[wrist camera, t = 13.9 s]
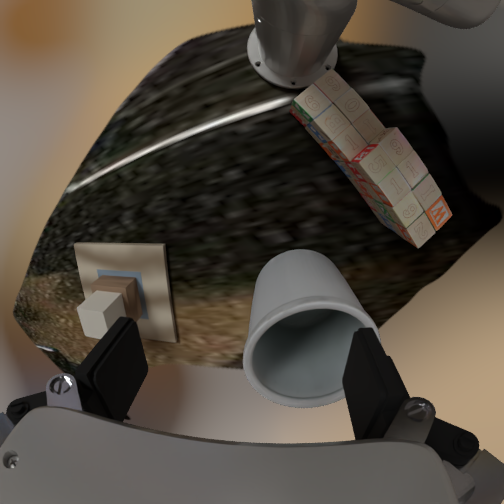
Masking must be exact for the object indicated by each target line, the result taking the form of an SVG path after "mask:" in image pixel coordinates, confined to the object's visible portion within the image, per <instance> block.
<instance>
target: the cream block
mask: <svg viewBox="0 0 504 504" xmlns="http://www.w3.org/2000/svg"><path fill="white" fill-rule="evenodd" d="M77 310H78V314H79V317H80V321H81V324H82V327H83V330H84V333H85V336H88V337H93V338H97V339H101V338H102V337H103V336H104V335H105V333H106V332H107V331H108V330H109V329H110V327H111V326H112V325H113V324H114V323H115V321H116V320H117V319H118V318H119V317H121V316H122V317H126V313H125V308H124V303H123V298H122V293H115V292H106V291H97V290H96V291H95V292H94V293H93V294H92V295H91V296H90V297H88V298H87V299H86V300H85V301H84V302H83V303H82V304H81V305H80V306H78V307H77Z"/></svg>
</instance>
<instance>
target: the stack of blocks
mask: <svg viewBox="0 0 504 504" xmlns="http://www.w3.org/2000/svg"><path fill="white" fill-rule="evenodd" d="M290 113H291V114H292V115H293V116H294V117H295V118H296V119H297V120H298V121H299V122H300V123H301V124H302V125H303V126H304V127H305V129H306V130H307V131H308V132H309V133H310V135H311V136H312V137H313V138H314V139H315V140H316V141H317V142H318V143H319V145H320V146H321V147H322V148H323V149H324V150H325V152H326V153H327V154H328V155H329V156H330V157H331V159H332V160H334V161H335V163H336V164H337V165H338V166H339V167H340V169H341V170H342V171H343V172H344V174H345V175H346V176H347V177H348V178H349V180H350V181H351V182H352V183H353V185H354V186H355V187H356V188H357V190H358V191H359V193H360V194H361V196H362V197H363V198H364V200H365V201H366V202H367V204H368V205H369V206H370V208H371V209H372V211H373V212H374V214H375V215H376V217H377V218H378V219H379V221H380V222H381V223H382V224H383V225H385V226H386V227H388V228H390V229H391V230H393V231H394V232H395V233H397V234H398V235H399V236H401V237H402V238H403V239H405V240H406V241H408V242H410V243H411V244H412V245H414V246H415V247H416V248H420V247H421V246H422V245H423V244H424V243H425V242H426V241H427V240H428V239H429V238H430V237H431V236H433V235H434V234H435V231H437V230H438V229H440V228H441V227H442V226H443V225H444V224H445V222H446V221H447V220H448V219H449V218H450V217H451V216H452V213H451V211H450V209H449V207H448V205H447V203H446V201H445V200H444V198H443V196H442V195H441V194H442V193H441V191H440V189H439V188H438V186H437V185H436V183H435V181H434V180H433V178H432V177H431V175H430V174H429V173H428V169H427V168H426V166H425V165H424V163H423V162H422V160H421V159H420V158H419V156H418V155H417V153H416V152H415V151H414V150H413V148H412V147H411V145H410V144H409V142H408V141H407V140H406V138H405V137H404V136H403V134H402V133H401V132H400V131H399V129H398V128H397V127H394V128H385V127H384V126H383V124H382V123H381V122H380V121H379V119H378V118H377V117H376V116H375V115H374V113H373V112H372V111H371V110H370V108H369V106H368V105H367V104H366V103H365V102H364V100H363V99H362V98H361V97H360V96H359V95H358V94H357V93H356V91H355V90H354V89H353V88H351V87H350V86H349V85H348V84H347V83H346V82H345V81H344V80H343V79H342V78H341V77H340V75H338V73H337V72H336V71H335V70H334V69H330V70H329V71H328V72H327V73H325V74H324V75H323V76H321V77H320V78H319V79H318V80H316V81H315V82H314V83H313V84H312V85H311V86H309V87H308V88H307V89H306V90H304V91H303V92H302V93H301V94H300V95H298V96H297V97H296V98H295V99H294V100H293V102H292V106H291V109H290Z"/></svg>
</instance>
